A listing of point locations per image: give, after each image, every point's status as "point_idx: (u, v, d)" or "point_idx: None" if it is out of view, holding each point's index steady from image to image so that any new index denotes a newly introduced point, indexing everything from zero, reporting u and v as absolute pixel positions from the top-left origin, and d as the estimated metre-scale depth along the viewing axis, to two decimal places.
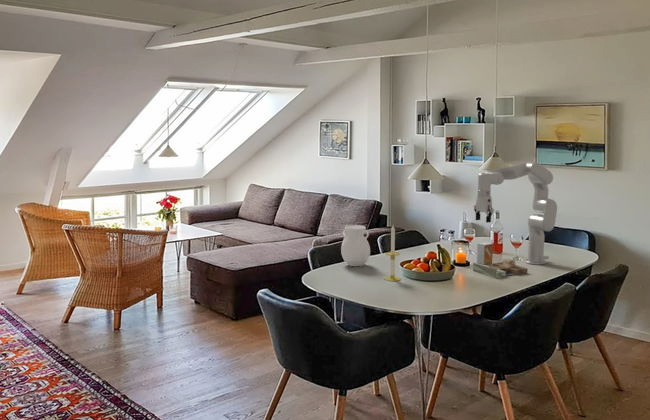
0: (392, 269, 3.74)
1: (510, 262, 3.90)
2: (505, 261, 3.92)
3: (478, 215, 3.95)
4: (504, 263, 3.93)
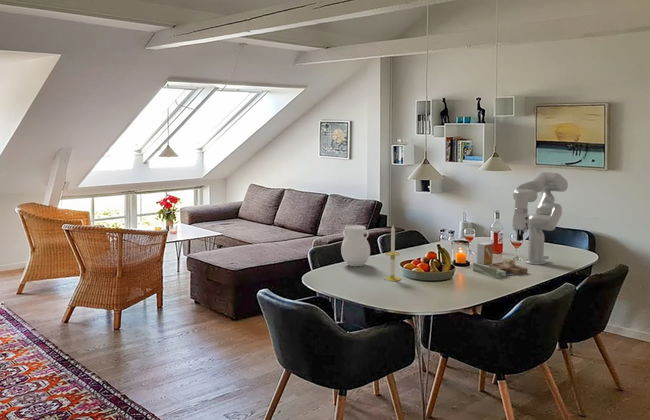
0: (392, 269, 3.74)
1: (510, 262, 3.90)
2: (505, 261, 3.92)
3: None
4: (504, 263, 3.93)
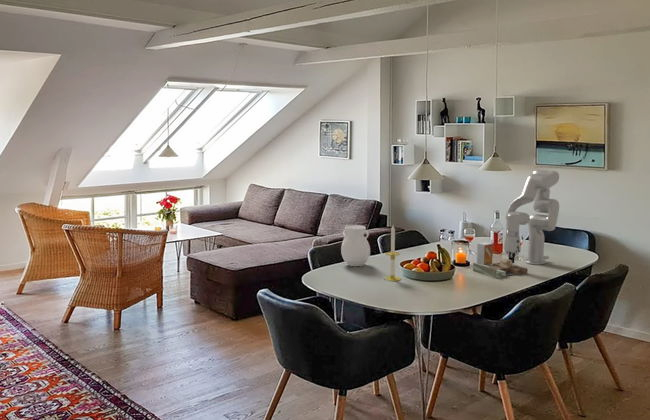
0: (392, 269, 3.74)
1: (507, 262, 3.89)
2: (502, 261, 3.91)
3: None
4: (501, 263, 3.92)
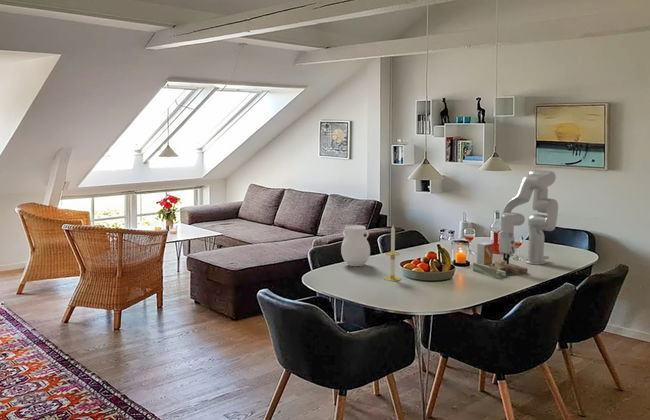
0: (392, 269, 3.74)
1: (502, 263, 3.88)
2: (497, 262, 3.90)
3: None
4: (496, 264, 3.91)
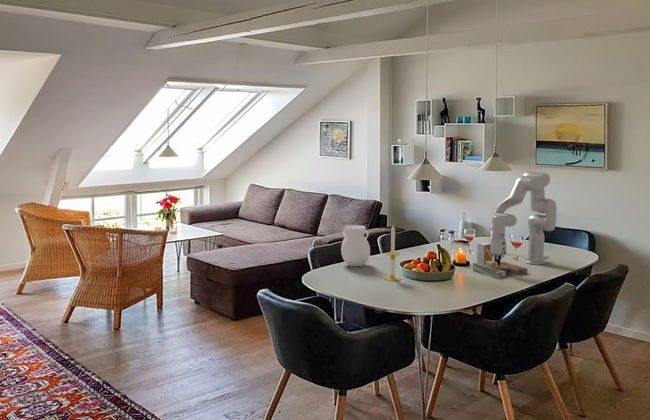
0: (392, 269, 3.74)
1: (493, 264, 3.85)
2: (488, 263, 3.87)
3: None
4: (487, 265, 3.88)
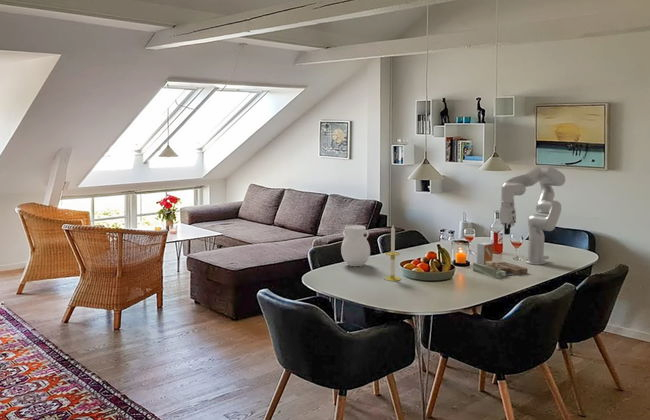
0: (392, 269, 3.74)
1: (492, 264, 3.85)
2: (487, 263, 3.87)
3: None
4: (486, 265, 3.88)
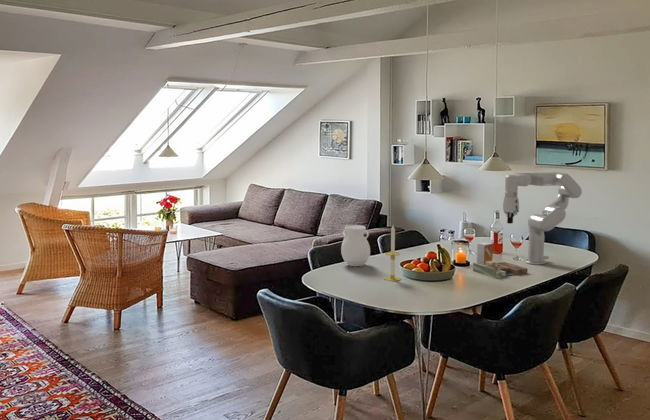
0: (392, 269, 3.74)
1: (492, 264, 3.85)
2: (487, 263, 3.87)
3: None
4: (486, 265, 3.88)
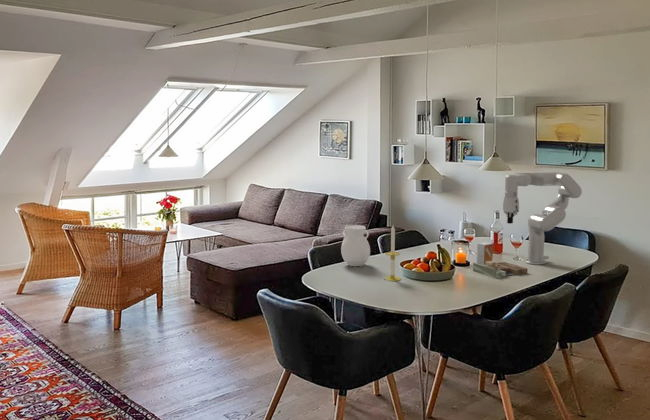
0: (392, 269, 3.74)
1: (492, 264, 3.85)
2: (487, 263, 3.87)
3: None
4: (486, 265, 3.88)
